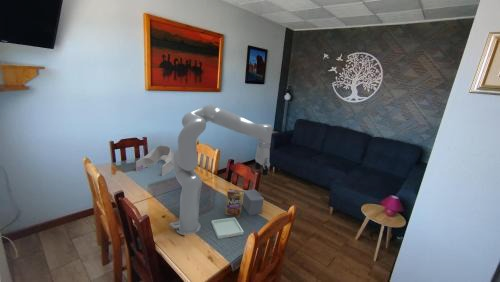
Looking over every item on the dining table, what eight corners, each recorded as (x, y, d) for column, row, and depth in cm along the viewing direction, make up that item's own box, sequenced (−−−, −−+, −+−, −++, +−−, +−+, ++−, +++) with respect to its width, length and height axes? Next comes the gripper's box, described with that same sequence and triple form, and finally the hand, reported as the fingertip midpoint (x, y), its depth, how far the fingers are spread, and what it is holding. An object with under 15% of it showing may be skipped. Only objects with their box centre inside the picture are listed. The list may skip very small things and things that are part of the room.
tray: (218, 239, 113) (218, 236, 113) (211, 223, 126) (211, 220, 125) (243, 235, 119) (243, 231, 118) (234, 220, 131) (234, 217, 131)
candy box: (224, 214, 136) (227, 191, 132) (226, 211, 140) (228, 188, 136) (239, 217, 134) (242, 193, 131) (241, 213, 139) (243, 190, 135)
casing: (162, 179, 175) (163, 154, 171) (135, 173, 179) (135, 149, 175) (180, 167, 202) (181, 145, 197) (156, 163, 206) (157, 141, 201)
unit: (249, 216, 137) (251, 200, 134) (241, 205, 148) (243, 190, 146) (262, 214, 140) (264, 198, 138) (253, 204, 151) (255, 189, 149)
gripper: (252, 141, 142) (250, 167, 146) (264, 149, 127) (262, 177, 131) (263, 141, 145) (260, 166, 149) (276, 148, 130) (273, 176, 134)
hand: (261, 171), depth 140 cm, fingers open, 9 cm apart
